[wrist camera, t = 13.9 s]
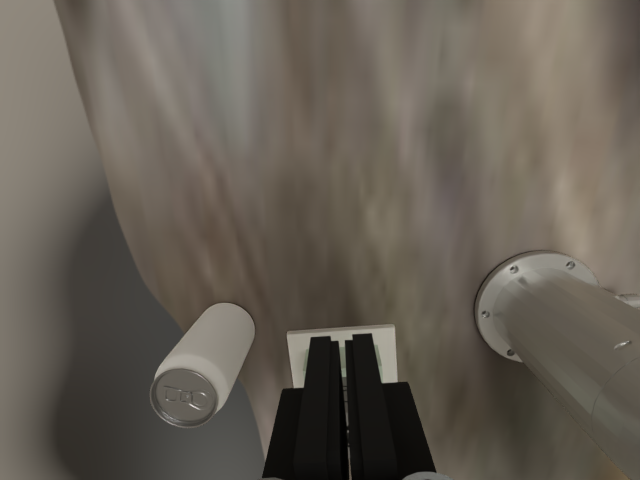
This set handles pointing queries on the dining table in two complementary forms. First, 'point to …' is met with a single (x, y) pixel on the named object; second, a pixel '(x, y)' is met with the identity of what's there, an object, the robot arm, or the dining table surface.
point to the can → (203, 367)
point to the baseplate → (380, 334)
